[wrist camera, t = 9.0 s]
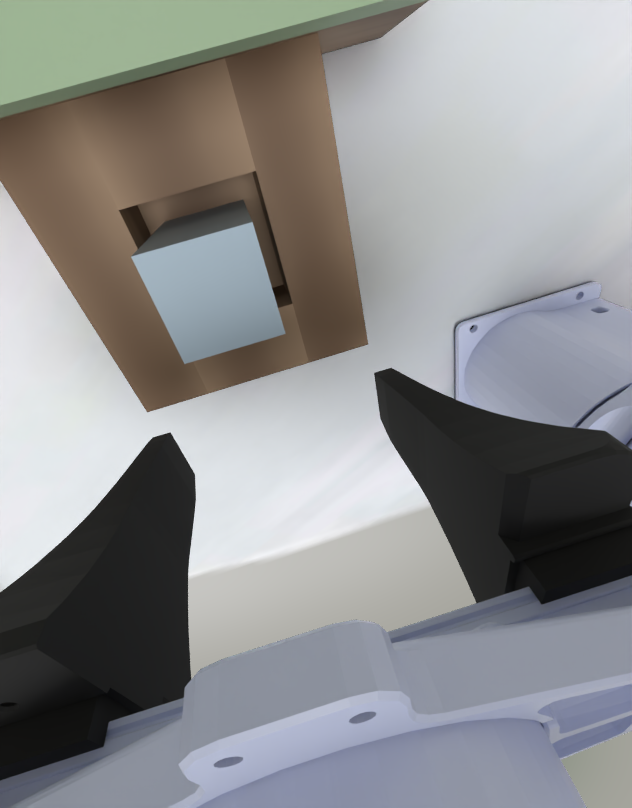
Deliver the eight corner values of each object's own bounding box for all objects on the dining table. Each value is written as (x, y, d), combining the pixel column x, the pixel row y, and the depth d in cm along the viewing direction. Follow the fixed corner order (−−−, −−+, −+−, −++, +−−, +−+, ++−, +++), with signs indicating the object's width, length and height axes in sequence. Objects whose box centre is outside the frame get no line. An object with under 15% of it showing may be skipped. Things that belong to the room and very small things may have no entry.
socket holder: (368, -100, 13) (620, -557, 5) (403, 297, 21) (515, 385, 13) (-150, 36, 12) (-919, -214, 4) (98, 390, 20) (15, 543, 12)
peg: (243, 199, 16) (252, 222, 10) (266, 278, 18) (285, 333, 12) (165, 221, 16) (130, 256, 10) (197, 298, 18) (184, 363, 12)
